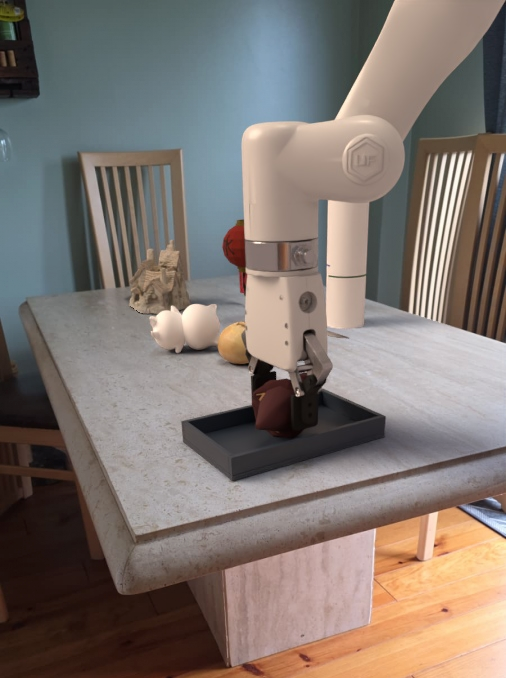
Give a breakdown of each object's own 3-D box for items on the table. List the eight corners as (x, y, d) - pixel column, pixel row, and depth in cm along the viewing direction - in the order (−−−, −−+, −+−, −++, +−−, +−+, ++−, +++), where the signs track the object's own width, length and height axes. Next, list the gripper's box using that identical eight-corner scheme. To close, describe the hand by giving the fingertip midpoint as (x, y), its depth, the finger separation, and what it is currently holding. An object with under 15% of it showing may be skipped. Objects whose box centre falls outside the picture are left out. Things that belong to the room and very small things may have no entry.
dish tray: (384, 437, 72) (386, 416, 71) (232, 481, 63) (231, 458, 62) (322, 406, 82) (322, 388, 81) (182, 441, 73) (180, 421, 72)
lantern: (241, 330, 122) (234, 162, 110) (217, 322, 130) (208, 163, 117) (280, 323, 127) (278, 161, 114) (255, 315, 134) (250, 162, 122)
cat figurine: (146, 298, 105) (217, 292, 106) (152, 320, 115) (216, 314, 116) (152, 348, 104) (223, 341, 105) (157, 366, 114) (222, 359, 115)
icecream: (299, 408, 62) (339, 376, 75) (233, 383, 64) (283, 357, 77) (281, 468, 65) (323, 428, 78) (219, 443, 67) (269, 407, 80)
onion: (211, 367, 100) (209, 323, 97) (226, 353, 107) (224, 312, 104) (259, 369, 98) (258, 324, 95) (271, 355, 105) (271, 313, 102)
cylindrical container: (355, 327, 122) (360, 189, 111) (369, 335, 115) (376, 189, 105) (320, 330, 120) (322, 190, 110) (332, 339, 114) (336, 191, 104)
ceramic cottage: (147, 297, 156) (140, 235, 149) (203, 304, 149) (199, 239, 142) (108, 314, 144) (98, 247, 137) (167, 322, 137) (161, 252, 130)
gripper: (364, 262, 59) (357, 433, 66) (268, 247, 73) (271, 390, 80) (298, 270, 55) (299, 449, 63) (211, 252, 69) (219, 401, 77)
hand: (283, 415), depth 71 cm, fingers closed on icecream, 7 cm apart
